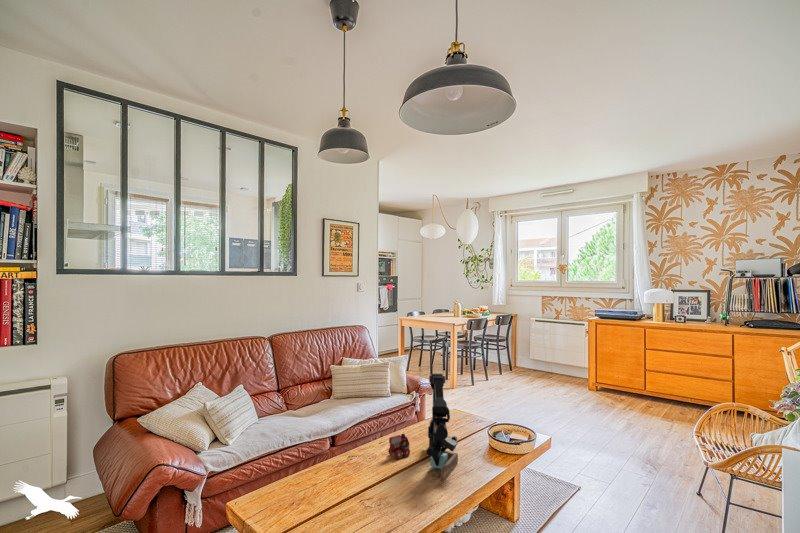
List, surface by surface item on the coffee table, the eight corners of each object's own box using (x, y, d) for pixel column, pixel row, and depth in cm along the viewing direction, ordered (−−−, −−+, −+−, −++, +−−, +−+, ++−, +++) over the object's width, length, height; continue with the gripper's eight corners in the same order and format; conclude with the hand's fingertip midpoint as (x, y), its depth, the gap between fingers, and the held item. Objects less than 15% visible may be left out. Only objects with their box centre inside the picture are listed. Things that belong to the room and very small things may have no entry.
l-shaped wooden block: (421, 475, 178) (421, 464, 178) (437, 458, 195) (437, 448, 195) (443, 481, 173) (443, 470, 173) (457, 463, 190) (457, 453, 190)
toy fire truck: (412, 454, 198) (413, 434, 198) (393, 461, 191) (394, 440, 191) (404, 449, 204) (405, 430, 204) (385, 455, 196) (386, 435, 196)
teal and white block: (447, 465, 184) (447, 452, 184) (444, 469, 180) (444, 456, 181) (433, 462, 187) (434, 449, 187) (430, 465, 184) (430, 452, 184)
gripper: (448, 442, 172) (447, 477, 172) (462, 427, 189) (461, 459, 188) (425, 436, 177) (425, 470, 177) (440, 423, 194) (440, 454, 194)
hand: (438, 463), depth 184 cm, fingers closed on teal and white block, 4 cm apart
